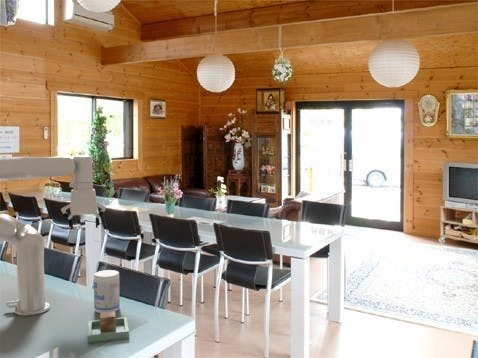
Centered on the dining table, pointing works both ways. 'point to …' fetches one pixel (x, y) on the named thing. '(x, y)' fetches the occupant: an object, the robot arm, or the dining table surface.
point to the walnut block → (107, 322)
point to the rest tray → (97, 336)
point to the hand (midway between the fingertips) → (84, 228)
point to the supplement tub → (106, 291)
